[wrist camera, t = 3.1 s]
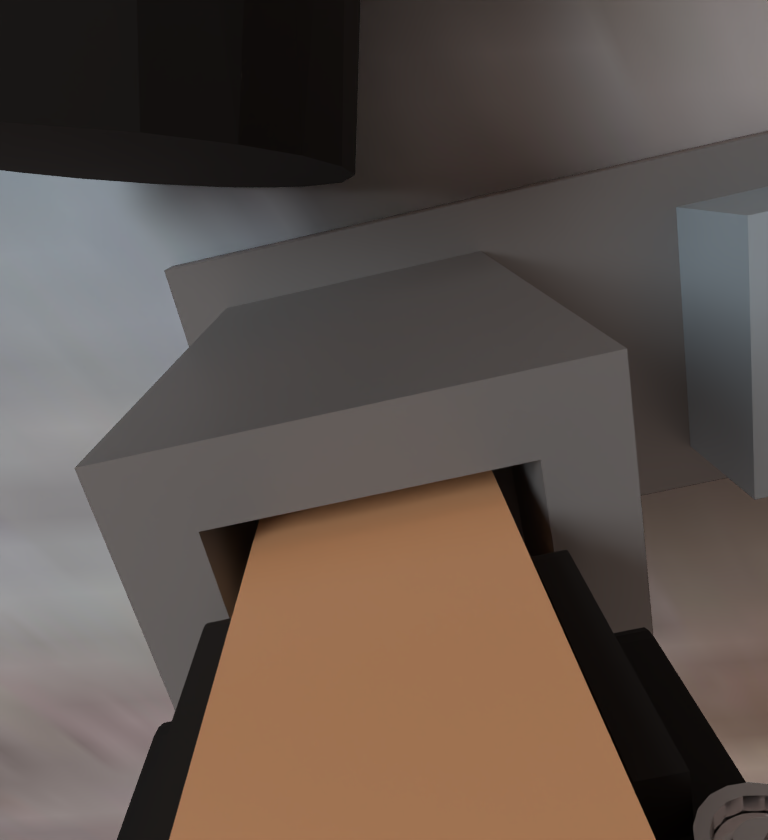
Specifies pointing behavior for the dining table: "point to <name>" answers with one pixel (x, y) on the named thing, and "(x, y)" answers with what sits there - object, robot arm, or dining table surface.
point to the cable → (180, 90)
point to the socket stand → (455, 379)
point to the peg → (401, 686)
